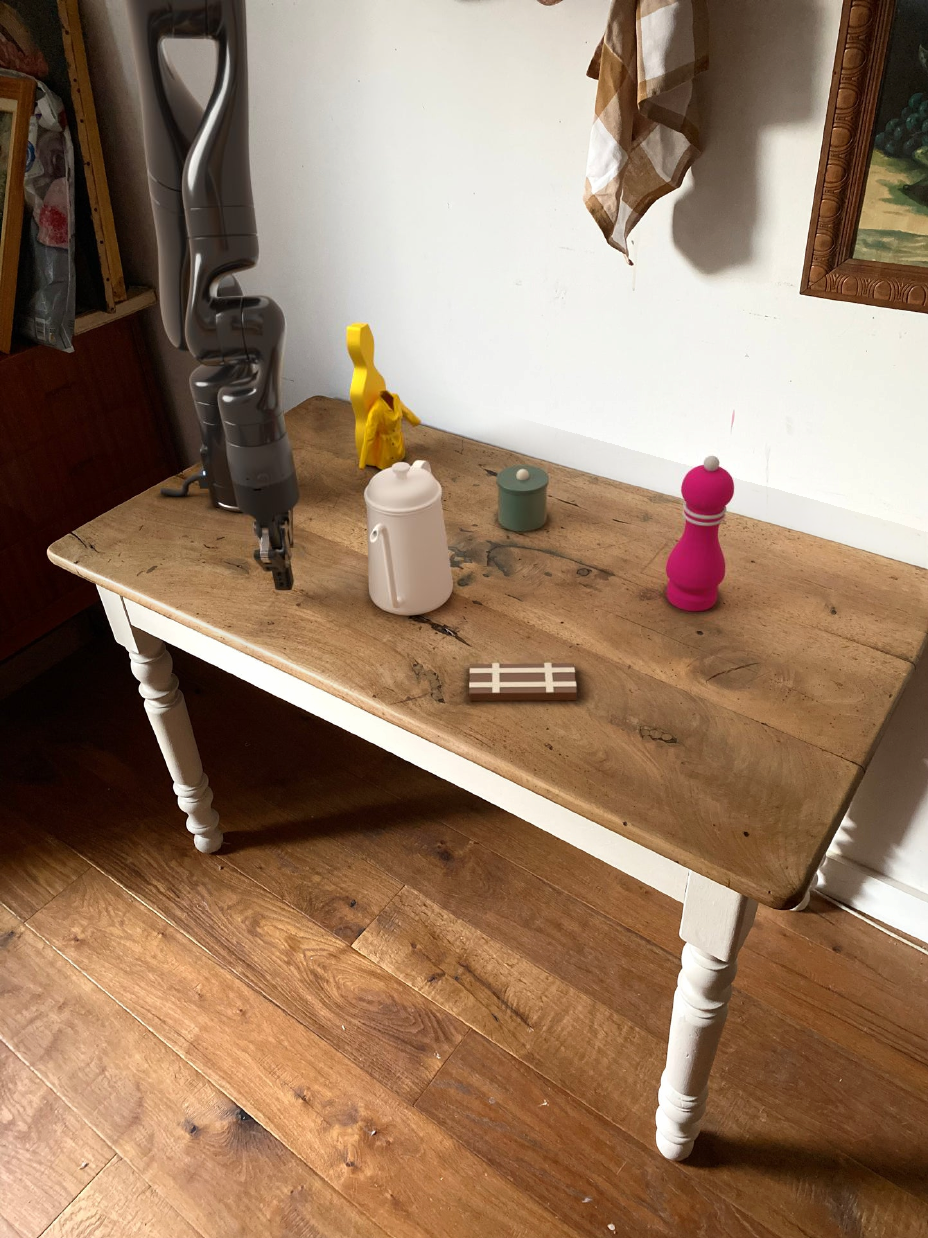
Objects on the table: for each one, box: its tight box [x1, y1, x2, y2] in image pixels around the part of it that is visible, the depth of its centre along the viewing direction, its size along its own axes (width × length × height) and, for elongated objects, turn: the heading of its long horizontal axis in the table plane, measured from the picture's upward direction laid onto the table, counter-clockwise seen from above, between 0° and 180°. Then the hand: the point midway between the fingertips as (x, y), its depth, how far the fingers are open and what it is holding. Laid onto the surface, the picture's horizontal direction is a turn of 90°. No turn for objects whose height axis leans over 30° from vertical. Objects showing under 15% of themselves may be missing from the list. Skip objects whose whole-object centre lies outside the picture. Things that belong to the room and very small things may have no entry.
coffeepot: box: [363, 459, 454, 616], centre depth 113 cm, size 11×25×19 cm, turn 169°
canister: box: [495, 464, 550, 533], centre depth 130 cm, size 7×7×8 cm
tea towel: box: [468, 662, 578, 702], centre depth 104 cm, size 12×5×1 cm, turn 89°
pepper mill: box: [665, 455, 735, 612], centre depth 110 cm, size 7×7×20 cm
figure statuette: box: [346, 322, 422, 471], centre depth 141 cm, size 18×8×22 cm, turn 151°
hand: (285, 587), depth 118 cm, fingers closed
